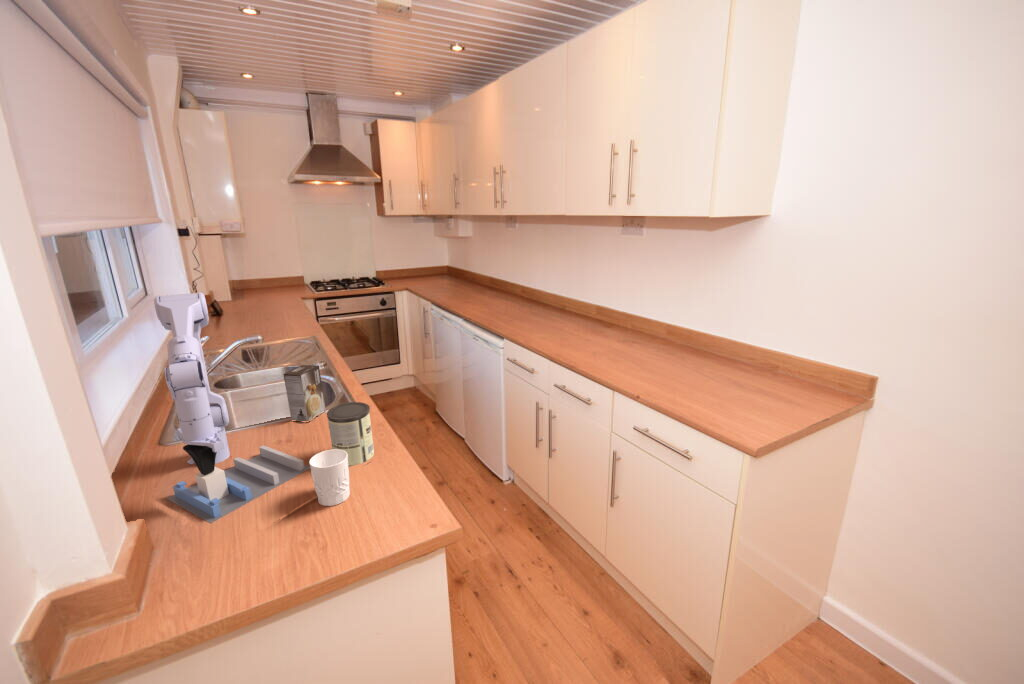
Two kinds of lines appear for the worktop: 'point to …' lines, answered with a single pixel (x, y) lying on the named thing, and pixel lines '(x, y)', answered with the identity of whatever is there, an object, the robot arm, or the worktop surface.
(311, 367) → the coffee box
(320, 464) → the white cup
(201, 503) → the grey railed board
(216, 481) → the cream plug
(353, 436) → the coffee can
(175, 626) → the worktop surface
